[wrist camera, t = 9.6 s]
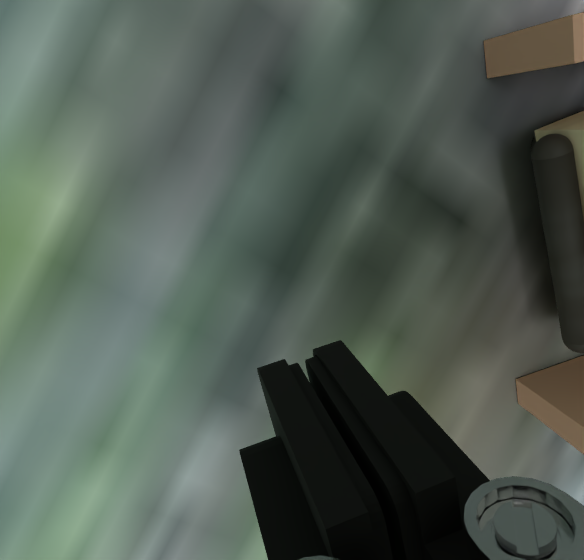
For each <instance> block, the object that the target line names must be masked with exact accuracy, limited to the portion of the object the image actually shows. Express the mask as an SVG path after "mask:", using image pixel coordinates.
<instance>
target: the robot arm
mask: <svg viewBox="0 0 584 560" xmlns="http://www.w3.org/2000/svg"><path fill="white" fill-rule="evenodd" d="M313 356H314V357H312V358H310V359H307V360H305V363H306V368H307V373H308V377H309V381H310V382H309V381H308V379H307V377H306V376H305V374H304V372H303V371H302V369H301V367H300V366H299V364H298V363H295V364H292V365H289V366H288V364H287V362H286V360H285V359H283V360H280V361H277V362H274V363H271V364H268V365H265V366H262V367H259V368H257V370H258V375H259V378H260V382H261V385H262V389H263V392H264V396H265V399H266V403H267V406H268V410H269V413H270V417H271V420H272V424H273V427H274V431H275V434H276V437H273V438H271V439H268V440H265V441H262V442H260V443H257V444H254V445H251V446H249V447H246V448H243V449H240V450H239V451H240V455H241V459H242V463H243V467H244V470H245V474H246V478H247V482H248V485H249V489H250V493H251V497H252V500H253V504H254V508H255V512H256V516H257V519H258V523H259V527H260V531H261V534H262V538H263V542H264V546H265V550H266V553H267V557H268V560H584V506H583V505H582V504H581V503H579V502H578V501H576V500H575V499H574V498H572V497H571V496H569V495H568V494H567V493H565V492H563V491H562V490H560V489H558V488H556V487H554V486H553V485H551V484H549V483H546V482H542V481H539V480H536V479H533V478H525V477H515V476H512V477H504V478H496V479H494V480H491V481H490V480H489V479H488V478H487V477H486V476H485V475H484V474H483V473H482V472H481V471H480V470H479V468H478V467H477V466H476V465H475V464H474V463H473V462H472V461H471V460H470V459H469V458H468V457H467V455H466V454H465V453H464V452H463V451H462V450H461V449H460V448H459V447H458V446H457V445H456V444H455V442H454V441H453V440H452V439H451V438H450V437H449V436H448V435H447V434H446V433H445V432H444V431H443V429H442V428H441V427H440V426H439V425H438V424H437V423H436V422H435V421H434V420H433V419H432V418H431V416H430V415H429V414H428V413H427V412H426V411H425V410H424V409H423V408H422V407H421V406H420V404H419V403H418V402H417V401H416V400H415V399H414V398H413V397H412V396H411V395H410V394H409V393H408V392H406V391H400V392H397V393H394V394H392V395H389V396H387V394H386V393H385V392H384V391H383V390H382V388H381V387H380V386H379V385H378V384H377V382H376V381H375V380H374V379H373V378H372V376H371V375H370V374H369V373H368V372H367V371H366V369H365V368H364V367H363V366H362V365H361V363H360V362H359V361H358V360H357V359H356V357H355V356H354V355H353V354H352V353H351V351H350V350H349V349H348V348H347V347H346V345H345V344H344V343H343V342H342V341H341V340H340V341H336V342H333V343H330V344H327V345H324V346H322V347H319V348H316V349H313Z"/></svg>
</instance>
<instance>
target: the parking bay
mask: <svg viewBox="0 0 584 560" xmlns="http://www.w3.org/2000/svg"><path fill="white" fill-rule="evenodd" d="M484 51H485V62H486V72H487V78H493V77H499V76H504V75H510V74H516V73H522V72H528V71H534V70H540V69H545V68H551V67H557V66H563V65H569V64H575V63H579V62H583V61H584V12H582V13H578V14H574V15H570V16H567V17H563V18H560V19H556V20H553V21H550V22H546V23H543V24H539V25H536V26H533V27H529V28H526V29H522V30H519V31H515V32H512V33H509V34H505V35H502V36H498V37H495V38H491V39H488V40H485V41H484ZM516 387H517V397H518V404H520V405H521V406H522V407H523V408H525V409H526V410H527V411H529V412H530V413H531V414H532V415H534V416H535V417H536V418H538V419H539V420H540V421H541V422H543V423H544V424H545V425H547V426H548V427H549V428H550V429H552V430H553V431H554V432H556V433H557V434H558V435H559V436H561V437H562V438H563V439H565V440H566V441H567V442H568V443H570V444H571V445H572V446H574V447H575V448H576V449H577V450H579V451H580V452H581V453H583V454H584V355H583V356H580V357H577V358H575V359H572V360H569V361H566V362H563V363H560V364H558V365H555V366H552V367H549V368H546V369H543V370H540V371H538V372H535V373H532V374H529V375H526V376H523V377H521V378H518V379H516Z"/></svg>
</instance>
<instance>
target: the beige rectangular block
mask: <svg viewBox="0 0 584 560" xmlns="http://www.w3.org/2000/svg"><path fill="white" fill-rule="evenodd" d="M534 131H535V137H534V138H533V140H532V143H531V159H532V165H533V170H534V176H535V182H536V188H537V194H538V200H539V206H540V211H541V217H542V223H543V229H544V235H545V241H546V246H547V252H548V258H549V264H550V270H551V276H552V281H553V287H554V293H555V299H556V305H557V311H558V316H559V322H560V328H561V334H562V339H563V342H564V344H565V345H566V346H567V347H568V348H569V349H571V350H572V351H574V352H578V353H584V111H582V112H579V113H577V114H574V115H572V116H569V117H567V118H564V119H562V120H559V121H557V122H554V123H552V124H549V125H547V126H544V127H542V128H539V129H537V130H534Z"/></svg>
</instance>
